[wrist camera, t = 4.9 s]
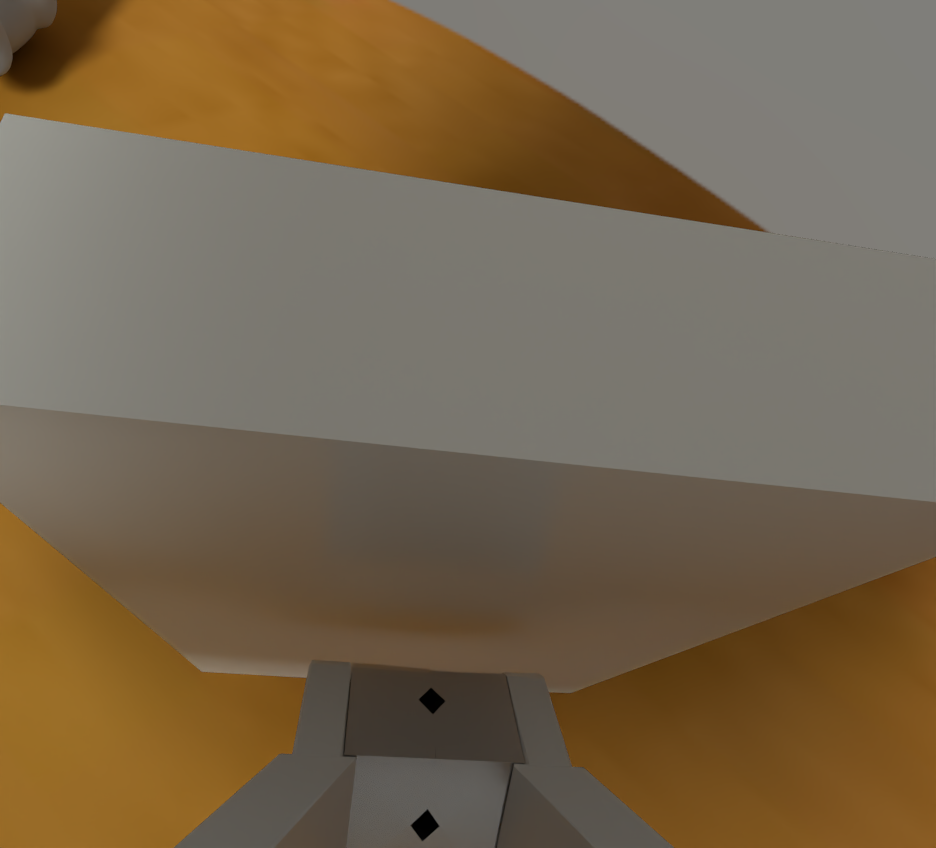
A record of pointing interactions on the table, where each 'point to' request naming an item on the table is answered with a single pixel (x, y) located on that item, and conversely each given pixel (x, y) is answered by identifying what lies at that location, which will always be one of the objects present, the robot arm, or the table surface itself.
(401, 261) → the white flat box
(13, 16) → the grey animal figurine
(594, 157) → the table surface
